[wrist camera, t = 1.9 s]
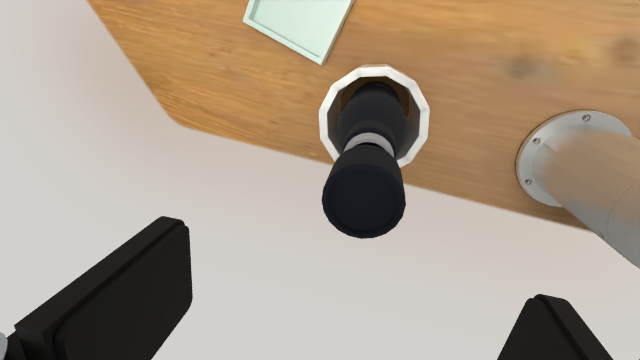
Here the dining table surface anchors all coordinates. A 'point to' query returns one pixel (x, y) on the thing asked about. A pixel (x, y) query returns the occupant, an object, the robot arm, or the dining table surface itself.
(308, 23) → the sage tray
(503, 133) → the dining table surface
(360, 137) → the wine bottle
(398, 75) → the wine cooler
